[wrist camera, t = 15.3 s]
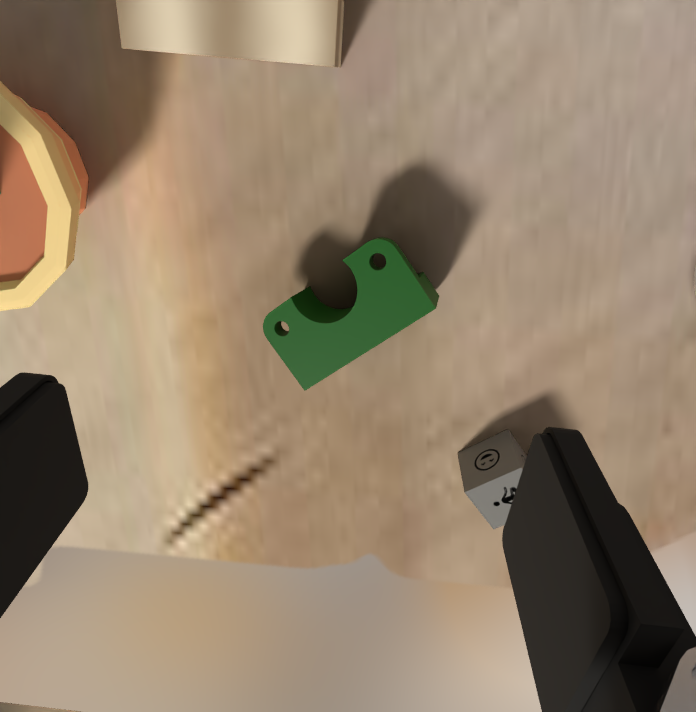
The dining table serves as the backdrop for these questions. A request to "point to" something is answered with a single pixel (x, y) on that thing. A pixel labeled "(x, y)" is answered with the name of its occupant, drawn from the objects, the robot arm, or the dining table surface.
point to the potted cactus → (36, 201)
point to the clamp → (350, 314)
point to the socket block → (236, 29)
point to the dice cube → (492, 475)
